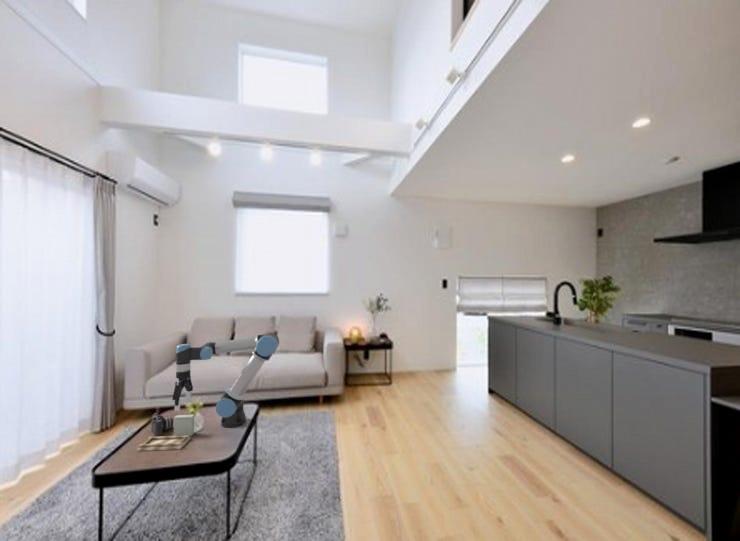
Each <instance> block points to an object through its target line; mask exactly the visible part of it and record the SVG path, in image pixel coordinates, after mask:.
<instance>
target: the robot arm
mask: <svg viewBox="0 0 740 541" xmlns="http://www.w3.org/2000/svg"><path fill="white" fill-rule="evenodd" d="M279 344H280V339H279V336H278V335H277V334H275V333H273V332H268V333H267V332H266V333H263V334H257V335H256V336H254V337H253V336H252V337H245V338H237V339H231V340H224V341H216V342H212V341H210V342H206V343H205V344H203V345H201V346H198V347H195V346H194V347H193V346H191V344H190V343H182V344H177V346H176V349H175V350H176V351H175V359H176V360H175V363H176V364H175V368H176V369H175V370H176V372H175V378H176V379H178V381H175V383H174V384H175V385H174V390H173V393H172V401H174V412H180V411H181V399H180V397H181V395H182V392H183V389H184V388H185V403H191V402H192V392H193V391H194V386H193V383H192V379H191V378H192V376H191V369H192V368H191V361H206V360H211V359H212V357H213V355H219V354H226V353H227V354H228V353H233V352H235V353H236V352H241V351H247V350H248V351H249V350H252V355H251V357H250V358H249V359H248V361H247V362H246V364H245V366H244V367H243V368H242V370H241V372H240V374H239V375H238V376H237V378H236V379H235V381H234V383H233V384H232V385H230V386H226V387H225V388H224V391H223V392H224V393H223V395H222V396H221V397H220V399H219V400H218V401H217V402H216V405H215V411H216V414H217V415H218V416H220V417H221V419H220V426H221V427H223V428H237V427H240V426H242V425H244V424H245V423H246V421H247V416H246V413H245V409H244V404H245V403H244V399H245V396H244V395H245V393H246V391H247V390H248V389H249V387H250V385H251V383H252V382H253V381H254V379H255V377H256V376H257V374H258V373H259V371H260V370H261V368H262V367H263V365H264V363H265V362H267V361H269V360H270V359H271V357H272V356H273V354H274V353H275V352H276V350H277V349H278V347H279Z"/></svg>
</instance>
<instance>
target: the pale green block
mask: <svg viewBox="0 0 740 541" xmlns="http://www.w3.org/2000/svg"><path fill="white" fill-rule="evenodd" d="M194 433H195V414H177V415H175V416H174V417H173V436H186V435H189V437H192V436H193V435H194Z"/></svg>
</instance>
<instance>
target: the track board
mask: <svg viewBox="0 0 740 541" xmlns="http://www.w3.org/2000/svg"><path fill="white" fill-rule="evenodd" d="M190 439H191V436H189V435H186V436H174V435H165V436H164V435H162V436H157V437H155V436H148V437H147V439H146V440H145V441H143V442H142V443H140V444H138V446H137V449H136V451H137V452H143V451H144V452H145V451H147V452H148V451H171V450H181V449H182V448H183V447H184V446H185V445H186V444H187V443H188V442H189V441H190Z"/></svg>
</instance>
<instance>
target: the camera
mask: <svg viewBox="0 0 740 541" xmlns="http://www.w3.org/2000/svg"><path fill="white" fill-rule="evenodd" d="M172 428H174V417H164V415H162V414H158V413H157V412H155V413H153V414H152V416H151V424H150V429H151V432H152V434H153V435H154V436H153V437H157V436H163V431H167V430H170V429H172Z"/></svg>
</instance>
